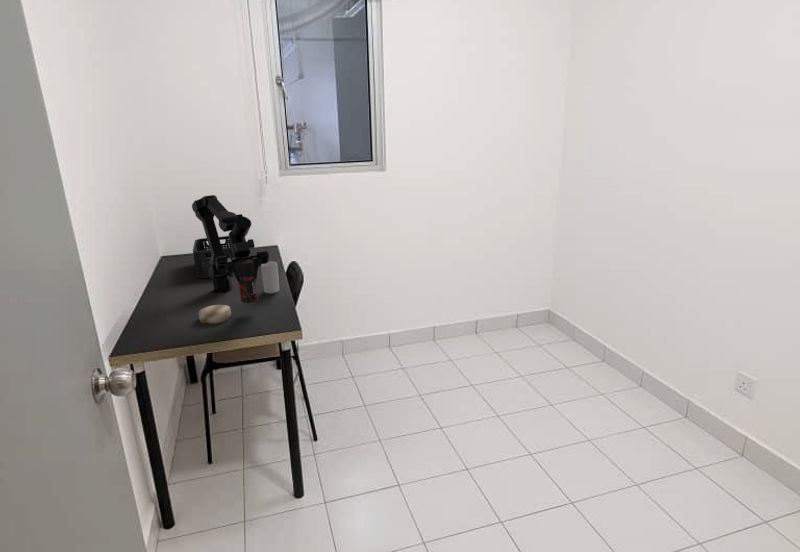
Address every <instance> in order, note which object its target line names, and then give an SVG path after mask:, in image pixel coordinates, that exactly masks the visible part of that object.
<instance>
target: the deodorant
mask: <svg viewBox="0 0 800 552" xmlns="http://www.w3.org/2000/svg"><path fill="white" fill-rule="evenodd" d="M236 265H237V275H238V278H239V282H238V286H239V287H238V289H239V294H240V295H239V297H240V302H241V303H244V304H251V303H255V302H256V301H258V292H257V291H258V290H257V285H256V281H257V280H256V279H255V273H254V262H253V260H250V259H244V260H239V261H237V262H236Z"/></svg>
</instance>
